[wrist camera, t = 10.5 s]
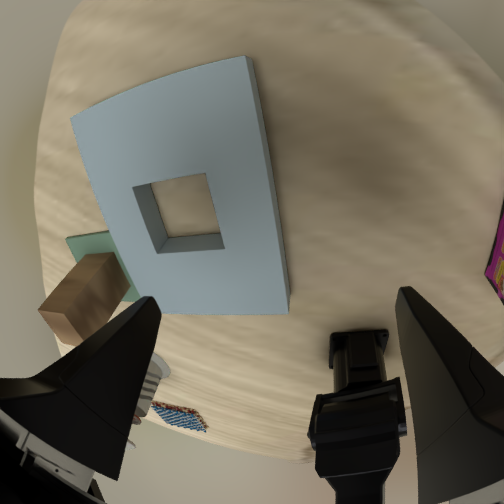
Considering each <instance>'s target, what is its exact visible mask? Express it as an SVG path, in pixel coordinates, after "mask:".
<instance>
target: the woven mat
mask: <svg viewBox="0 0 504 504" xmlns="http://www.w3.org/2000/svg"><path fill="white" fill-rule="evenodd" d="M151 402H152V404H151V405H153V406H151V407H152V408H153V410H154V411H155V412H156V413H157V414H159V416H161V418H162V419H163V420H164V421H165V422H166V423H169V424H171V425H172V426H173V425H177V427H179V426H182V427H184V428H190V429H191V430H192V429H197V431H199V430H202V431H204V432H206V430H207V429H208V428H209V427H208V426H206V423H205V422H203V420H204V419H203V418H201V416H198V415H199V413H198V412H195V411H196V410H195V409H190V408H184V407H179V406H174V405H169V404H165V403H160V402H156V401H151ZM153 402H154V403H153ZM179 408H180V409H179Z"/></svg>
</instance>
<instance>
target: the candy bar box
mask: <svg viewBox="0 0 504 504" xmlns="http://www.w3.org/2000/svg"><path fill="white" fill-rule="evenodd" d="M485 276H486V278H487V279H488V281H489V282H490V284H491V285H492V287H493V288H494V290H495V292H496V293H497V295H498V297H499V298H500V300H501V302H502V303H503V305H504V202H503V208H502V213H501V218H500V223H499V227H498V231H497V236H496V239H495V243H494V247H493V251H492V254H491V258H490V261H489V264H488V267H487V270H486V273H485Z"/></svg>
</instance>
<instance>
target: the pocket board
mask: <svg viewBox="0 0 504 504" xmlns="http://www.w3.org/2000/svg"><path fill="white" fill-rule="evenodd" d="M70 120H71V123H72V127H73V131H74V134H75V138H76V141H77V144H78V148H79V151H80V154H81V157H82V160H83V163H84V166H85V169H86V172H87V175H88V178H89V181H90V183H91V186H92V189H93V192H94V194H95V197H96V200H97V202H98V205H99V207H100V210H101V212H102V215H103V217H104V220H105V222H106V224H107V227H108V229H109V232H110V234H111V236H112V238H113V241H114V243H115V245H116V247H117V250H118V252H119V254H120V256H121V258H122V260H123V262H124V265H125V267H126V269H127V271H128V273H129V275H130V277H131V279H132V281H133V283H134V285H135V287H136V289H137V291H138V293H139V294H140V296H141V297H143V296H153V297H154V298H155V300H156V302H157V304H158V306H159V308H160V310H161V313H165V314H196V315H273V314H289V304H290V288H289V281H288V273H287V265H286V258H285V251H284V244H283V237H282V230H281V223H280V216H279V209H278V203H277V196H276V190H275V184H274V178H273V171H272V165H271V159H270V153H269V148H268V142H267V136H266V130H265V125H264V119H263V114H262V108H261V103H260V98H259V93H258V87H257V82H256V77H255V72H254V67H253V62H252V59H251V58H249V57H247V56H239V57H234V58H230V59H225V60H221V61H217V62H212V63H208V64H205V65H201V66H197V67H194V68H190V69H187V70H183V71H180V72H177V73H174V74H170V75H167V76H164V77H161V78H159V79H156V80H153V81H150V82H147V83H145V84H142V85H140V86H137V87H134V88H132V89H130V90H127V91H125V92H122V93H120V94H118V95H115V96H113V97H111V98H109V99H106V100H104V101H102V102H100V103H98V104H96V105H94V106H92V107H90V108H88V109H86V110H84V111H82V112H80V113H78V114H76V115H74V116H73V117H71V118H70ZM201 173H205V174H206V178H207V182H208V186H209V190H210V193H211V197H212V201H213V205H214V209H215V213H216V216H217V220H218V224H219V228H220V232H221V233H218V234H207V235H196V236H185V237H174V238H168V236H167V233H166V230H165V227H164V225H163V222H162V219H161V216H160V213H159V210H158V207H157V204H156V201H155V198H154V195H153V192H152V189H151V186H150V183H153V182H158V181H163V180H168V179H173V178H178V177H184V176H189V175H195V174H201Z"/></svg>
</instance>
